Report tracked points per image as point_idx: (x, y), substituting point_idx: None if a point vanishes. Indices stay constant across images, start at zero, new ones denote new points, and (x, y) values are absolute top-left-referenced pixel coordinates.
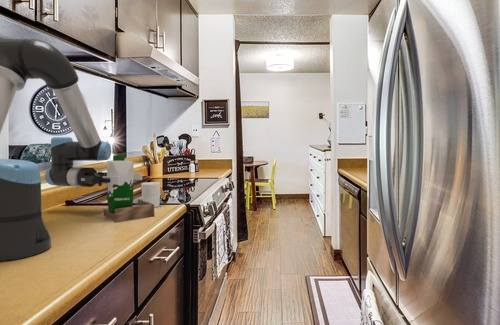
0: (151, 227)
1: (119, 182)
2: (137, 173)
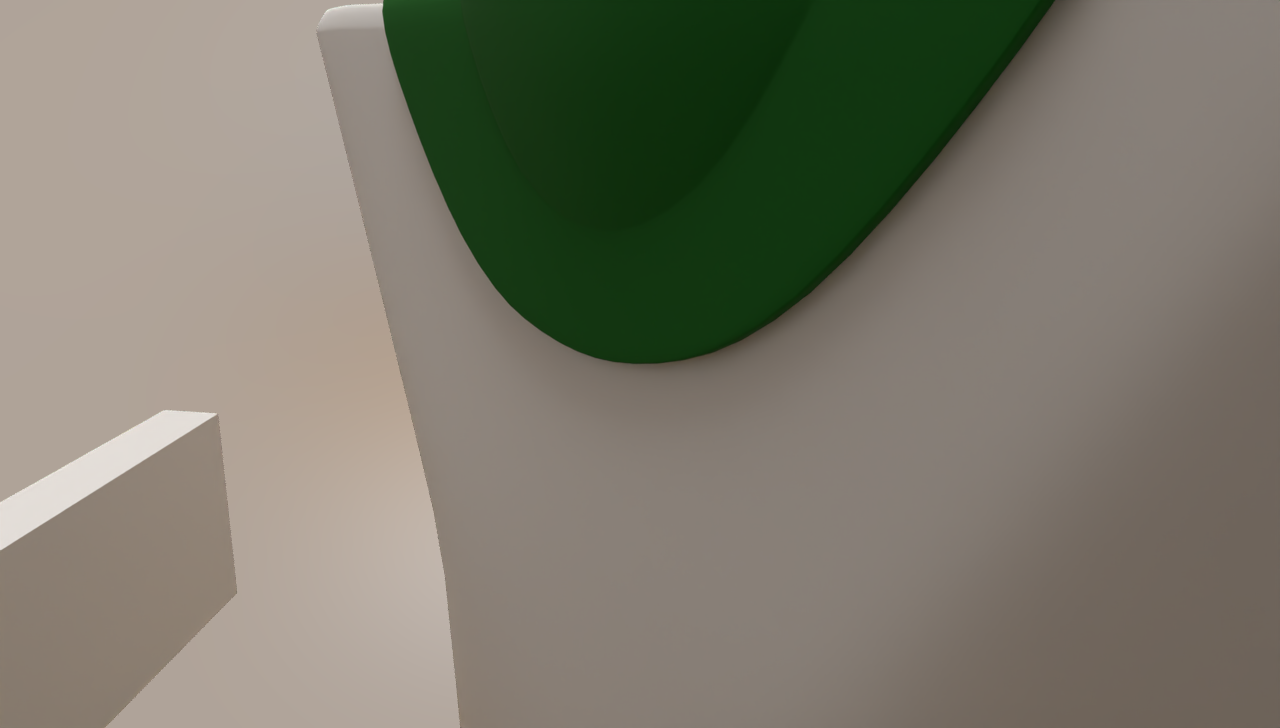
0: None
1: None
2: (153, 468)
